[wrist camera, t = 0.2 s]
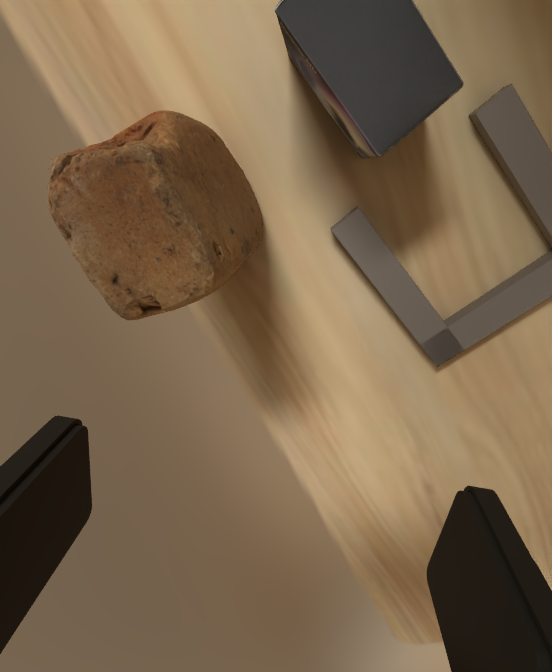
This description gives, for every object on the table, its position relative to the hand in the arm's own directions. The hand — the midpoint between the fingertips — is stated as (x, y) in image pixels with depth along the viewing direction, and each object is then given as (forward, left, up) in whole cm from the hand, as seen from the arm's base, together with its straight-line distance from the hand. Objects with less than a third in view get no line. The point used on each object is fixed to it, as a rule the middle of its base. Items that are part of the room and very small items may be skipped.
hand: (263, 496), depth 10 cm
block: (+3, -9, -31) cm, 33 cm away
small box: (-12, -8, -31) cm, 34 cm away
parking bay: (-12, +8, -31) cm, 34 cm away
